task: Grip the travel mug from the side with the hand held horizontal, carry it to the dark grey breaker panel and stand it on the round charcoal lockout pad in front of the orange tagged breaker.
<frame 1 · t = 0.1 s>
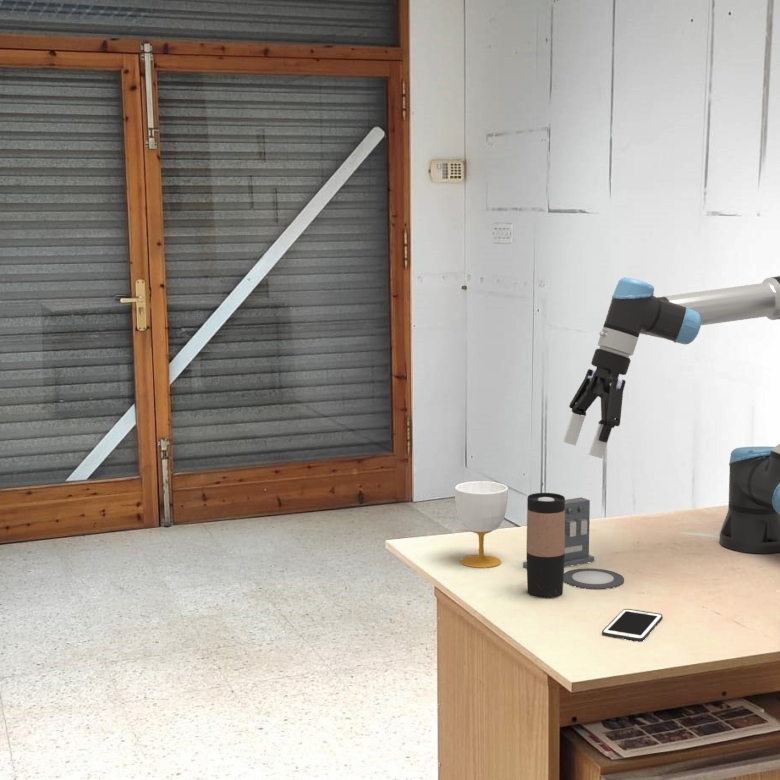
hand: (581, 450, 233), 28 cm above the table, tool tilted 20°, fingers open, 13 cm apart
travel mug: (545, 593, 229), on the table
cup: (481, 562, 250), on the table
lockout pad: (592, 579, 237), on the table
breaker panel: (558, 564, 248), on the table
cell phone: (632, 628, 210), on the table
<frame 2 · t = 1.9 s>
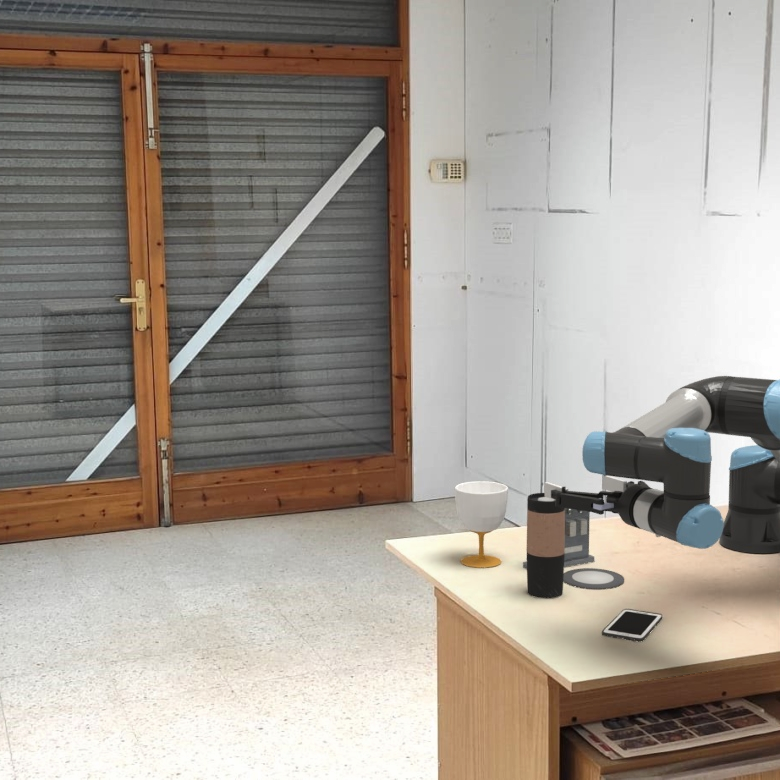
hand: (575, 485, 217), 24 cm above the table, tool horizontal, fingers open, 13 cm apart
nothing on the table moved.
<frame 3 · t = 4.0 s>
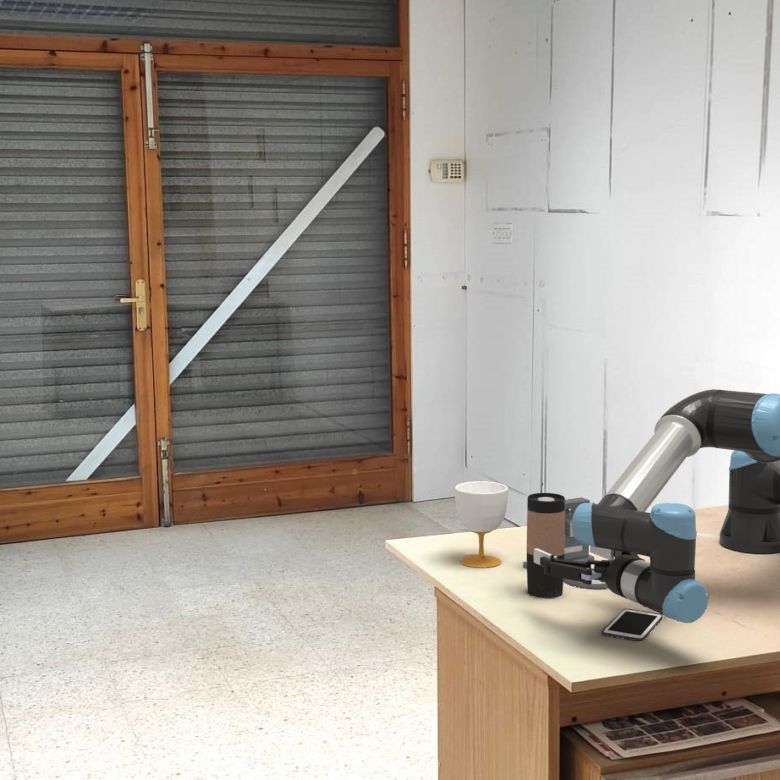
hand: (563, 550, 221), 11 cm above the table, tool horizontal, fingers open, 13 cm apart
nothing on the table moved.
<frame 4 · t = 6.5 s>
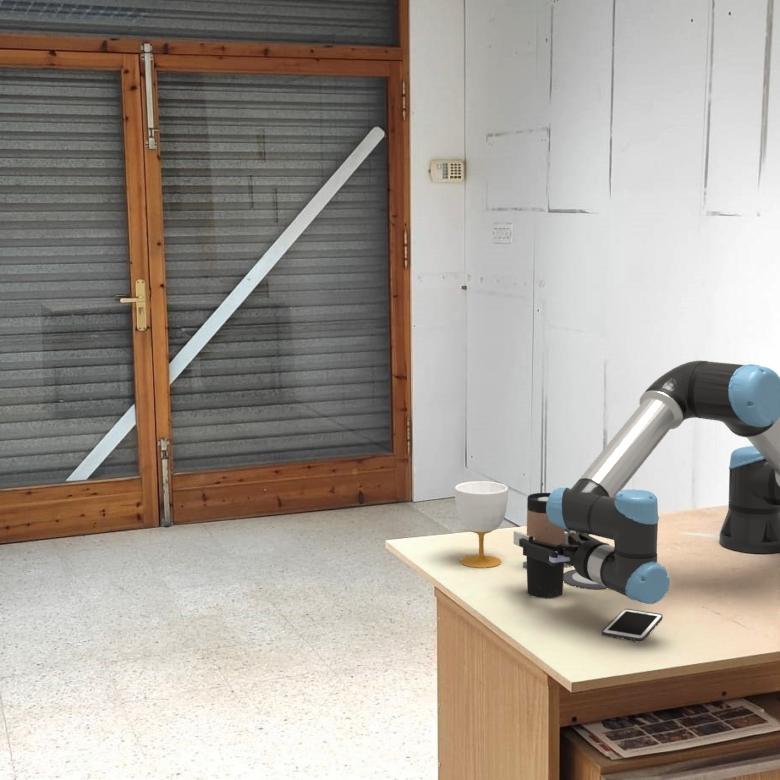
hand: (531, 534, 232), 11 cm above the table, tool horizontal, fingers closed on travel mug, 7 cm apart
travel mug: (544, 593, 229), on the table, touching gripper
everything else where it was.
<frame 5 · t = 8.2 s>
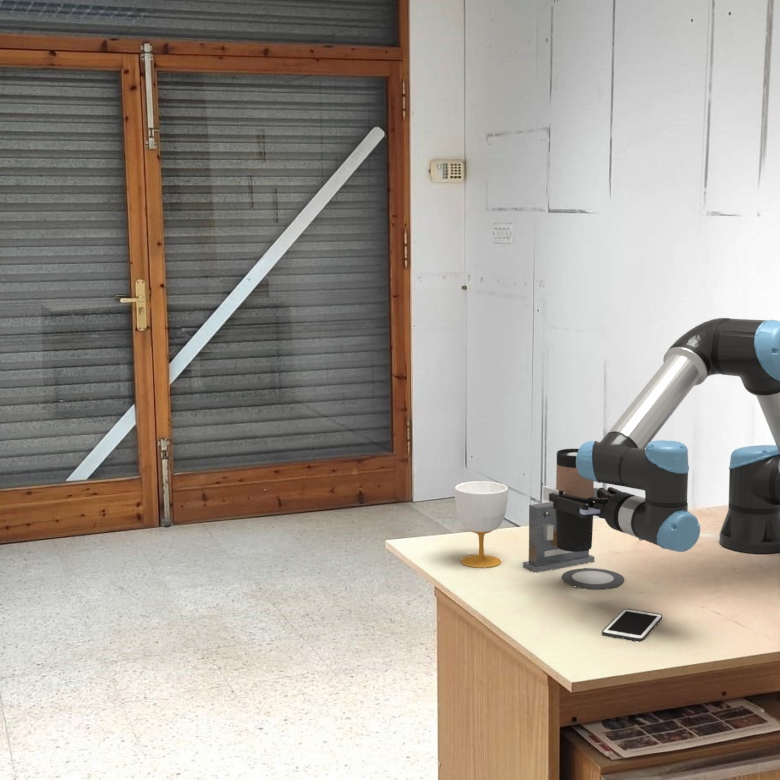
hand: (560, 490, 235), 19 cm above the table, tool horizontal, fingers closed on travel mug, 7 cm apart
travel mug: (574, 547, 233), point 8 cm above the table, touching gripper
everything else where it was.
when the fingers open (12 cm above the table, at t = 10.4 s): travel mug stays where it is, resting on lockout pad.
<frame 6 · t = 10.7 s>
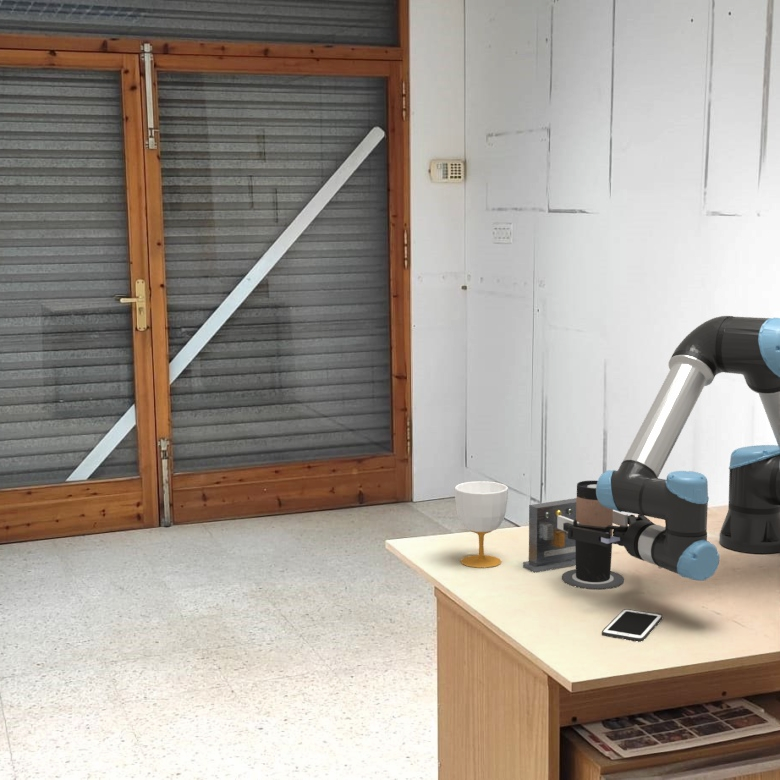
hand: (582, 517, 239), 12 cm above the table, tool horizontal, fingers open, 12 cm apart
travel mug: (592, 578, 237), resting on lockout pad
everything else where it was.
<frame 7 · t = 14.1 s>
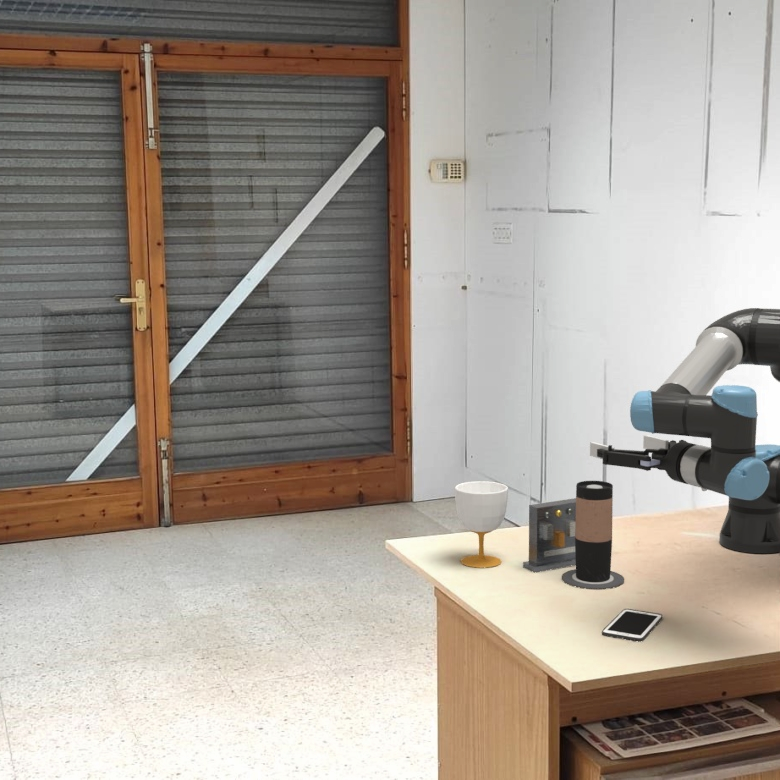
hand: (618, 445, 225), 30 cm above the table, tool horizontal, fingers open, 13 cm apart
nothing on the table moved.
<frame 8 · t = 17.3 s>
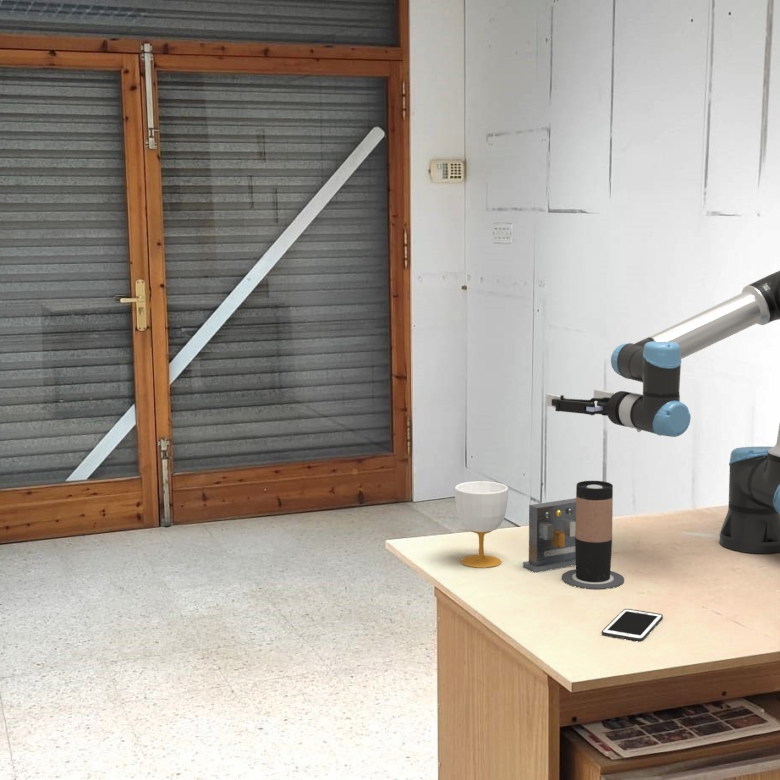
hand: (571, 397, 263), 34 cm above the table, tool horizontal, fingers open, 13 cm apart
nothing on the table moved.
at the end: travel mug 0.1 cm from the lockout pad (horizontally); travel mug tilted 0°; the gripper is holding nothing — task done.
